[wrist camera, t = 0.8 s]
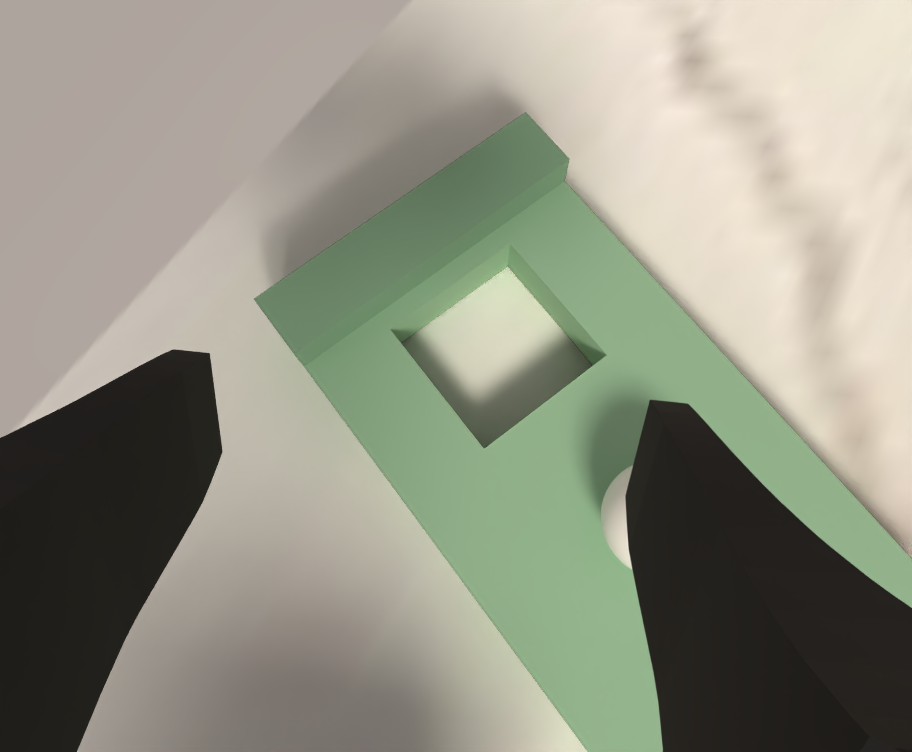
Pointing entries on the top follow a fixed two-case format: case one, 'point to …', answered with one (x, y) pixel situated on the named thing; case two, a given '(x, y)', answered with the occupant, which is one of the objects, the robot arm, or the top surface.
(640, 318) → the green holed board
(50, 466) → the robot arm
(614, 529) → the ball
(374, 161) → the top surface
